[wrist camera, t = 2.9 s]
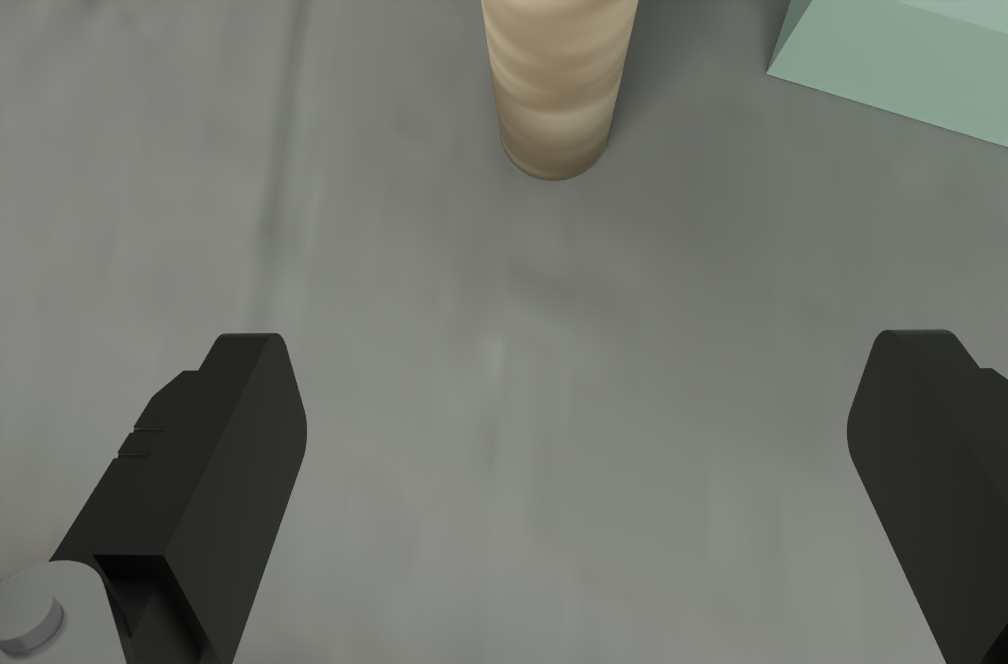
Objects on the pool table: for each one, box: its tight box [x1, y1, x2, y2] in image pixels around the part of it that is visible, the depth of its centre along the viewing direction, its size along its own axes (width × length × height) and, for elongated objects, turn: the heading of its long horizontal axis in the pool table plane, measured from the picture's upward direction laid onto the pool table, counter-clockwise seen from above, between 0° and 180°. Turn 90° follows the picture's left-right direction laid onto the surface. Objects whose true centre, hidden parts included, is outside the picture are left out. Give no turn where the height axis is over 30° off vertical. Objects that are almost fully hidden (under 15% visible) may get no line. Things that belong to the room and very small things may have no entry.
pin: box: [481, 0, 639, 181], centre depth 19 cm, size 4×4×10 cm
